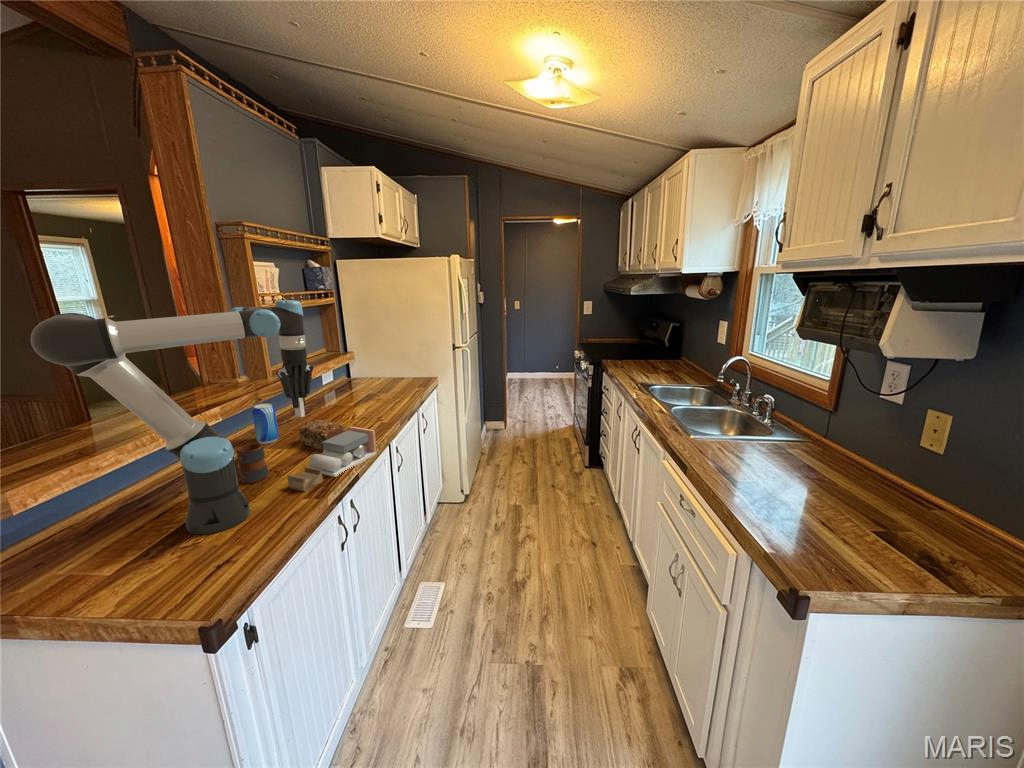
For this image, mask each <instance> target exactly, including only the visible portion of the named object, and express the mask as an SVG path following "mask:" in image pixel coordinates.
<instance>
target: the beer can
mask: <svg viewBox="0 0 1024 768" xmlns="http://www.w3.org/2000/svg"><path fill="white" fill-rule="evenodd" d="M251 413H252V420H253V427H254V434H255V440H256V441H257V443H259V444H262V445H267V444H268V445H269V444H273V443H275V442H277V441H278V439H279V438H280V435H279V427H278V422H277V415H276V414H277V413H276V409H275V407H274V406H273V404H272V403H259V404H257V405H254V406H253V410H252V412H251Z"/></svg>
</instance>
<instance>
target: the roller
mask: <svg viewBox="0 0 1024 768" xmlns="http://www.w3.org/2000/svg"><path fill="white" fill-rule="evenodd" d="M348 452H350V453H353V457H358V458H363V457H364V456H365V455H366V453H367V448H366V446H365V445H360V446H358V447H356V448H354V449H352V450H350V451H348Z"/></svg>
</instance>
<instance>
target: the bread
mask: <svg viewBox="0 0 1024 768" xmlns="http://www.w3.org/2000/svg"><path fill="white" fill-rule="evenodd" d="M346 431H347V430H346V428H345V426H343V425H342V424H340V423H336V422H332V421H329V420H324V419H316V420H315V419H314V420H310V421H307V422H305V423H304V424H303V425H302V426H301V427H300V428H299V430H298V433H299V440H300V443H301V444H302V445H304V446H305V445H306V446H308V447H310V448H314V449H316V450H319V451H322V452H323V451H324V449H323V441H326V440H328V439H330V438H332V437H335V436H337V435H339V434H341V433H343V432H346Z"/></svg>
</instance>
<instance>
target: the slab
mask: <svg viewBox="0 0 1024 768" xmlns="http://www.w3.org/2000/svg"><path fill="white" fill-rule="evenodd" d="M368 441H369V438H368V434H366V433H360V432H354V431H349V430H346V432H343V433H341V434H339V435H337V436H335V437H332V438H330V439H328V440H326V441H323V449H324V450H329V451H334V452H339V453H346V452H348V451H350V450H352V449H354V448H356V447H358V446H360V445H362V444H364V443H366V442H368Z"/></svg>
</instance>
